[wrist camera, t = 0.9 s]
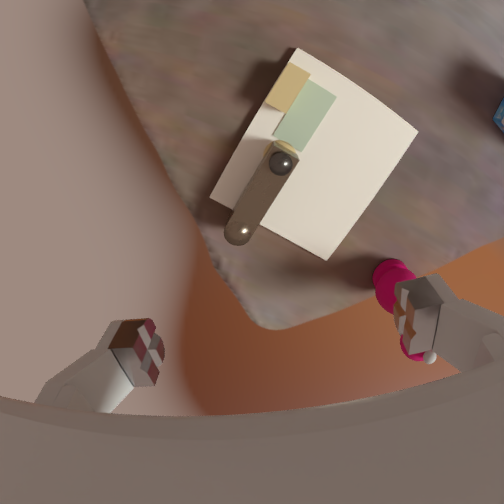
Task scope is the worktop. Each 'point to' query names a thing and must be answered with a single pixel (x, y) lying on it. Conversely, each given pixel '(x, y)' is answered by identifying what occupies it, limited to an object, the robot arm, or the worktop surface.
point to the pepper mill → (385, 286)
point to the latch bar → (260, 193)
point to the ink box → (500, 116)
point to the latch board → (318, 153)
